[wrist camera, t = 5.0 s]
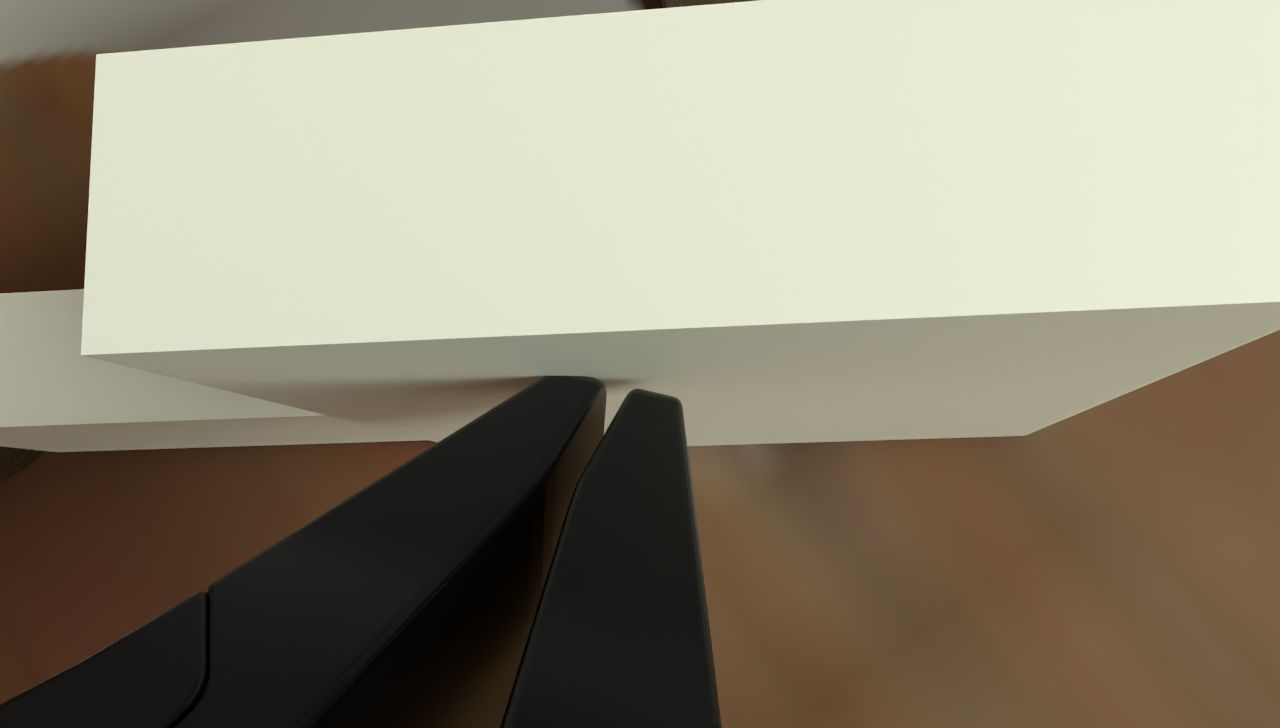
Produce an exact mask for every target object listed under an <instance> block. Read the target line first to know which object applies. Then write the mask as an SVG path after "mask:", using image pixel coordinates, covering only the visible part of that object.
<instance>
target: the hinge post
mask: <svg viewBox="0 0 1280 728" xmlns="http://www.w3.org/2000/svg"><path fill="white" fill-rule="evenodd" d="M39 453H40V450H31V449H21V448H12V447H2V446H0V480H2V479H4V478H7V477H9V476H11V475H13V474H15V473H17V472H19V471H20V470H21V469H23V468H24V467H26V466H27V465H28V464H29V463H30V462H31V461H32V460H33V459H34V458H35V457H36V456H37V455H38V454H39Z"/></svg>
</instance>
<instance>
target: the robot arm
mask: <svg viewBox="0 0 1280 728" xmlns="http://www.w3.org/2000/svg"><path fill="white" fill-rule="evenodd" d="M606 398H607V392H606V387H605V384H604V383H603V382H602V381H601V380H600V379H598V378H594V377H587V376H544V377H542V378H541V379H539V380H537V381H536V382H534V383H532V384H531V385H529V386H528V387H526V388H524V389H523V390H521V391H520V392H518V393H516V394H515V395H513V396H512V397H510V398H508V399H507V400H505V401H504V402H502V403H500V404H499V405H497V406H495V407H494V408H492V409H491V410H489V411H487V412H486V413H484V414H483V415H481V416H479V417H478V418H476V419H475V420H473V421H471V422H470V423H468V424H466V425H465V426H463V427H462V428H460V429H458V430H457V431H455V432H454V433H452V434H450V435H449V436H447V437H446V438H444V439H442V440H441V441H439V442H438V443H436V444H434V445H433V446H431V447H429V448H428V449H426V450H425V451H423V452H421V453H420V454H418V455H417V456H415V457H413V458H412V459H410V460H409V461H407V462H405V463H404V464H402V465H400V466H399V467H397V468H396V469H394V470H392V471H391V472H389V473H388V474H386V475H384V476H383V477H381V478H380V479H378V480H376V481H375V482H373V483H372V484H370V485H368V486H367V487H365V488H363V489H362V490H360V491H359V492H357V493H355V494H354V495H352V496H351V497H349V498H347V499H346V500H344V501H343V502H341V503H339V504H338V505H336V506H334V507H333V508H331V509H330V510H328V511H326V512H325V513H323V514H322V515H320V516H318V517H317V518H315V519H314V520H312V521H310V522H309V523H307V524H305V525H304V526H302V527H301V528H299V529H297V530H296V531H294V532H293V533H291V534H289V535H288V536H286V537H285V538H283V539H281V540H280V541H278V542H277V543H275V544H273V545H272V546H270V547H268V548H267V549H265V550H264V551H262V552H260V553H259V554H257V555H256V556H254V557H252V558H251V559H249V560H248V561H246V562H244V563H243V564H241V565H239V566H238V567H236V568H235V569H233V570H231V571H230V572H228V573H227V574H225V575H223V576H222V577H220V578H219V579H217V580H215V581H214V582H212V583H211V584H210V585H209V588H208V593H207V592H206V591H204V590H199V591H197V592H195V593H194V594H192V595H190V596H189V597H187V598H186V599H184V600H182V601H181V602H179V603H178V604H176V605H174V606H173V607H171V608H170V609H168V610H166V611H165V612H163V613H161V614H160V615H158V616H157V617H155V618H153V619H152V620H150V621H148V622H147V623H145V624H143V625H141V626H140V627H138V628H136V629H135V630H133V631H131V632H130V633H128V634H126V635H124V636H123V637H121V638H119V639H118V640H116V641H114V642H113V643H111V644H109V645H108V646H106V647H104V648H102V649H101V650H99V651H97V652H96V653H94V654H92V655H91V656H89V657H87V658H85V659H84V660H82V661H80V662H78V663H76V664H74V665H72V666H71V667H69V668H67V669H65V670H63V671H61V672H59V673H57V674H56V675H54V676H52V677H50V678H48V679H46V680H44V681H42V682H41V683H39V684H37V685H35V686H33V687H31V688H29V689H27V690H26V691H24V692H22V693H20V694H18V695H16V696H14V697H12V698H11V699H9V700H7V701H5V702H3V703H1V704H0V728H722V726H721V718H720V710H719V701H718V693H717V685H716V677H715V669H714V660H713V652H712V644H711V636H710V628H709V619H708V611H707V603H706V595H705V586H704V578H703V570H702V562H701V554H700V545H699V537H698V529H697V521H696V513H695V504H694V496H693V488H692V480H691V471H690V463H689V455H688V447H687V439H686V430H685V422H684V414H683V406H682V403H681V401H680V400H679V399H678V398H676V397H674V396H669V395H665V394H661V393H657V392H653V391H648V390H644V389H639V388H636V389H634V390H631V391H630V392H629V393H628V394H627V395H626V397H625V399H624V401H623V402H622V404H621V406H620V408H619V409H618V411H617V413H616V415H615V416H614V418H613V420H612V422H611V423H610V425H609V427H608V429H607V430H606V432H605V434H604V424H605V411H606Z"/></svg>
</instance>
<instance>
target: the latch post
mask: <svg viewBox="0 0 1280 728" xmlns="http://www.w3.org/2000/svg"><path fill="white" fill-rule="evenodd" d="M746 1H755V0H660V2H661V4H662V7H663V8H673V7H685V6H697V5H710V4H722V3H734V2H746Z"/></svg>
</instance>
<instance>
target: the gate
mask: <svg viewBox="0 0 1280 728" xmlns="http://www.w3.org/2000/svg"><path fill="white" fill-rule="evenodd" d="M1278 330H1280V0H759V1H746V2H734V3H722V4H710V5H697V6H685V7H673V8H660V9H648V10H636V11H625V12H611V13H599V14H587V15H575V16H562V17H551V18H538V19H526V20H513V21H501V22H489V23H476V24H464V25H452V26H439V27H427V28H415V29H404V30H390V31H378V32H366V33H355V34H354V33H353V34H342V35H329V36H317V37H304V38H292V39H280V40H267V41H255V42H243V43H232V44H218V45H206V46H194V47H182V48H169V49H157V50H144V51H132V52H120V53H107V54H96V71H95V90H94V109H93V128H92V148H91V167H90V186H89V205H88V225H87V244H86V263H85V282H84V289H76V290H57V291H38V292H19V293H0V446H2V447H12V448H21V449H31V450H40V451H50V452H82V451H113V450H143V449H174V448H204V447H235V446H266V445H296V444H327V443H358V442H388V441H419V440H430V441H434V442H439V441H441V440H442V439H444V438H446V437H447V436H449V435H450V434H452V433H454V432H455V431H457V430H458V429H460V428H462V427H463V426H465V425H466V424H468V423H470V422H471V421H473V420H475V419H476V418H478V417H479V416H481V415H483V414H484V413H486V412H487V411H489V410H491V409H492V408H494V407H495V406H497V405H499V404H500V403H502V402H504V401H505V400H507V399H508V398H510V397H512V396H513V395H515V394H516V393H518V392H520V391H521V390H523V389H524V388H526V387H528V386H529V385H531V384H532V383H534V382H536V381H537V380H539V379H541V378H542V377H544V376H587V377H594V378H598V379H600V380H601V381H602V382H603V383H604V384H605V387H606V392H607V398H606V411H605V424H604V434H605V432H606V430H607V429H608V427H609V425H610V423H611V422H612V420H613V418H614V416H615V415H616V413H617V411H618V409H619V408H620V406H621V404H622V402H623V401H624V399H625V397H626V395H627V394H628V393H629V392H630V391H631V390H634V389H636V388H639V389H644V390H648V391H653V392H657V393H661V394H665V395H669V396H674V397H676V398H678V399H679V400H680V401H681V403H682V406H683V414H684V422H685V430H686V439H687V446H708V445H740V444H772V443H805V442H837V441H869V440H902V439H934V438H966V437H999V436H1025V435H1027V434H1030V433H1032V432H1035V431H1037V430H1039V429H1042V428H1044V427H1047V426H1049V425H1052V424H1054V423H1056V422H1059V421H1061V420H1064V419H1066V418H1068V417H1071V416H1073V415H1076V414H1078V413H1080V412H1083V411H1085V410H1088V409H1090V408H1092V407H1095V406H1097V405H1100V404H1102V403H1105V402H1107V401H1109V400H1112V399H1114V398H1117V397H1119V396H1121V395H1124V394H1126V393H1129V392H1131V391H1133V390H1136V389H1138V388H1141V387H1143V386H1145V385H1148V384H1150V383H1153V382H1155V381H1157V380H1160V379H1162V378H1165V377H1167V376H1170V375H1172V374H1174V373H1177V372H1179V371H1182V370H1184V369H1186V368H1189V367H1191V366H1194V365H1196V364H1198V363H1201V362H1203V361H1206V360H1208V359H1210V358H1213V357H1215V356H1218V355H1220V354H1223V353H1225V352H1227V351H1230V350H1232V349H1235V348H1237V347H1239V346H1242V345H1244V344H1247V343H1249V342H1251V341H1254V340H1256V339H1259V338H1261V337H1263V336H1266V335H1268V334H1271V333H1273V332H1275V331H1278Z"/></svg>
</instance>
